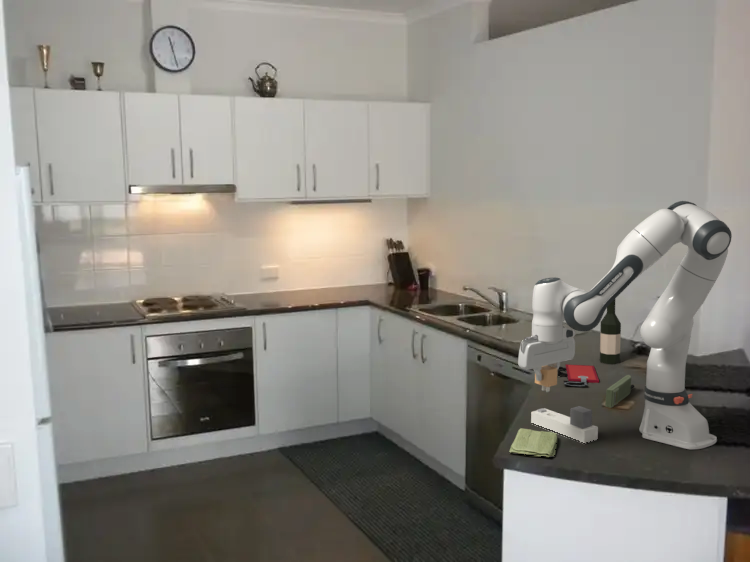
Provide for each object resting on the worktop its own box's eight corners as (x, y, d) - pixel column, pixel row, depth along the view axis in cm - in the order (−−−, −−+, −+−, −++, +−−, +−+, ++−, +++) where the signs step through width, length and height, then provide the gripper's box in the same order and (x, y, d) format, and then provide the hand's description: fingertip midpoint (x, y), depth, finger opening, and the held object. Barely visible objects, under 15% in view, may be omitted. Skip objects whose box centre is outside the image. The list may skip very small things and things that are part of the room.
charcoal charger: (591, 432, 228) (592, 410, 227) (582, 435, 226) (583, 412, 225) (578, 427, 232) (579, 405, 231) (570, 430, 230) (570, 408, 229)
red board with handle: (559, 387, 280) (600, 389, 278) (559, 380, 280) (601, 382, 277) (556, 367, 310) (593, 369, 307) (556, 360, 309) (593, 362, 306)
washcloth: (507, 456, 217) (507, 446, 217) (517, 435, 234) (517, 426, 233) (554, 461, 213) (554, 451, 212) (560, 440, 229) (560, 430, 229)
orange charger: (556, 391, 220) (557, 368, 219) (547, 394, 218) (547, 370, 217) (544, 387, 224) (544, 364, 223) (534, 389, 222) (535, 366, 221)
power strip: (597, 439, 228) (598, 424, 227) (584, 443, 224) (584, 429, 224) (544, 419, 246) (544, 406, 245) (531, 423, 242) (531, 410, 242)
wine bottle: (622, 360, 315) (624, 290, 310) (617, 365, 308) (619, 293, 304) (602, 358, 320) (604, 289, 315) (596, 362, 313) (598, 292, 308)
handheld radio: (603, 407, 258) (627, 388, 277) (612, 409, 256) (636, 390, 275) (604, 388, 256) (629, 371, 276) (614, 390, 255) (638, 372, 274)
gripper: (529, 340, 210) (528, 387, 212) (579, 330, 221) (578, 375, 223) (513, 336, 215) (513, 382, 218) (562, 326, 226) (561, 370, 229)
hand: (546, 378), depth 221 cm, fingers closed on orange charger, 4 cm apart
